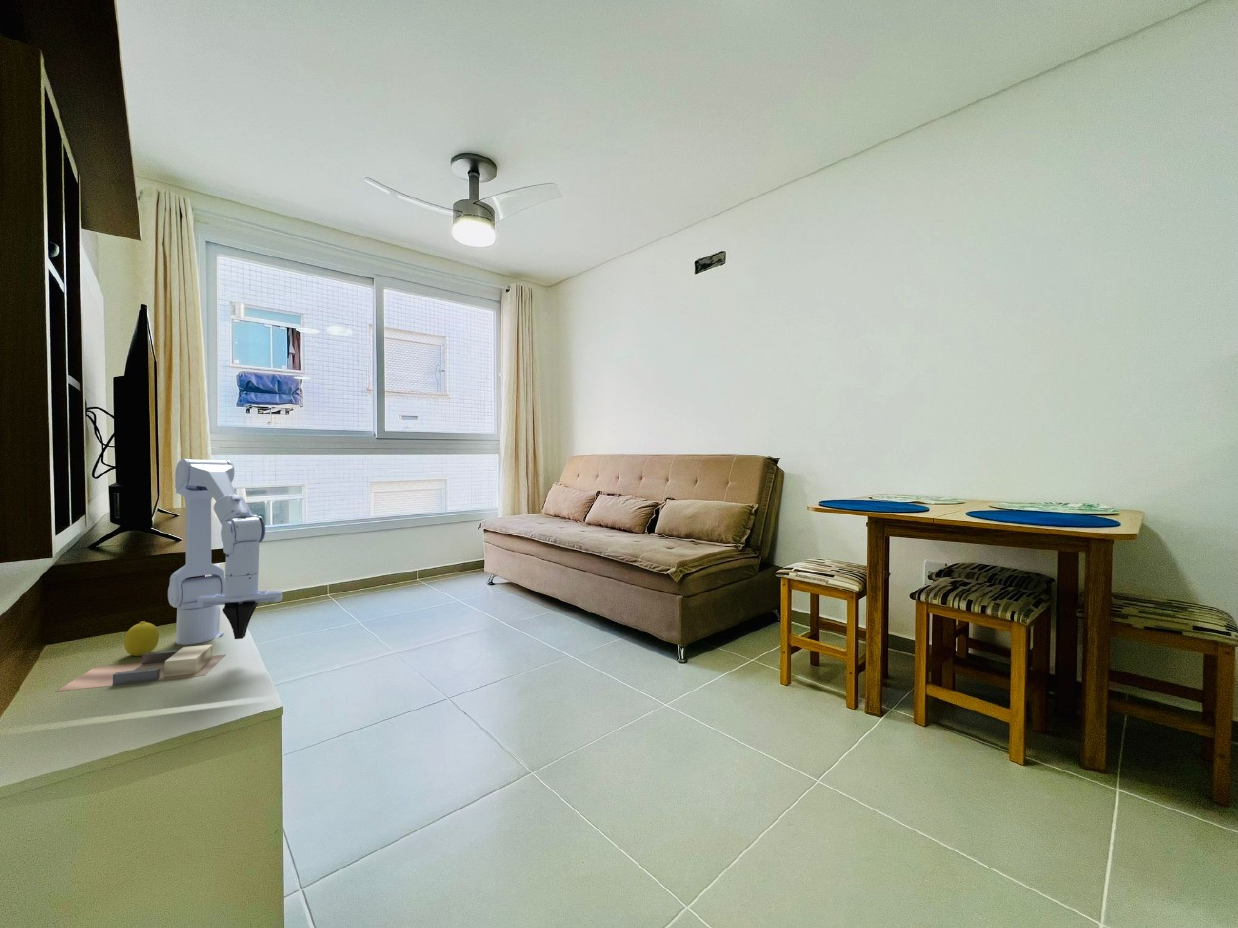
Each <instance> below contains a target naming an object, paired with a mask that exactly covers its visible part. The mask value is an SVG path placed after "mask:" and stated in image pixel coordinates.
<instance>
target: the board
mask: <svg viewBox="0 0 1238 928" xmlns="http://www.w3.org/2000/svg"><path fill="white" fill-rule="evenodd" d="M225 657H226V654H218V655H212V659H211V660H210V661H209V662H208V663H207V664H205V665H204V666H203V667H202V668H201V669H200V670H199V671H198V672H197V673H195V674H186V675H177V676H167V677H164V667H165V662H162V663H152V664H142V662H136V663H135V662H134V663H125V664H114V665H105V666H96V667H95V666H94V667H93V668H91V669H89V670H88V671H86V672H85V673H83V674H82V675H80V676H78V677H77V678H75V679H74V680H72V681H69V683H67V684H65V685H64V686H62V687H60V688H59V689H57V690H55V693H57V692H67V691H76V690H77V691H79V690H86V689H87V690H88V689H96V688H104V687H113V686H115V687H116V685H113V674H115V673H116V672H125V671H135V670H145V669H155V668H160V678H159V679H158V680H157V681H156V682H159V681H168V680H169V681H170V680H176V679H177V680H178V679H185V678H186V679H187V678H188V679H189V678H196V677H197V678H198V677H205V676H207V674H208V673H209V672H210V671H211V670H213V668H215V666H216V665H217V664H218V663H220V662H221V660H223V658H225ZM149 682H150V683H151V682H153V681H149ZM149 682H148V683H149ZM141 683H143V682H140V683H139V684H141ZM132 684H134V683H131V685H132ZM121 685H124V686H125V684H121ZM121 685H120V686H121Z"/></svg>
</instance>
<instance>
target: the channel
mask: <svg viewBox="0 0 1238 928" xmlns="http://www.w3.org/2000/svg"><path fill="white" fill-rule="evenodd" d="M179 650H180V649H174V650H161V651H151V652H149V653H144V654H143V655H142V656H141V657H142V658H141V663H142V664H152V663H162V662H165V661H166V660H167V659H169V658H170V657H171V656H173V655H174V654H175V653H177V652H178V651H179ZM159 678H160V668H155V669H145V670H135V671H125V672H116V673H115V674H113V685H115V686H121V684H124V685H130V684H131V683H133V684H141V683H140V682H142V683H149V681H152V682H158V681H157V680H158V679H159ZM131 685H132V684H131Z"/></svg>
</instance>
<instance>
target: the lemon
mask: <svg viewBox="0 0 1238 928" xmlns="http://www.w3.org/2000/svg"><path fill="white" fill-rule="evenodd" d="M159 635H160V634H159V630H158V627H157V626H156V625H155V624H153V623H151V622H146V621H145V620H144V621H140V622H139V623H136V624H135V625H133V626H132V627H130V628H129V629H128V630H127V632H126V634H125V637H124V640H123V646H124V649H125V651H126V653H128V654H129V655H131V656H134V657H142V655H143V654H144V653H149V652H153V651H154V650H155V649H156V647H157V646H158V644H159V640H160V636H159Z"/></svg>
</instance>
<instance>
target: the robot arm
mask: <svg viewBox="0 0 1238 928" xmlns="http://www.w3.org/2000/svg"><path fill="white" fill-rule="evenodd" d="M174 472H175V473H174V475H175V476H174V484H175V486H174V487H175V493H176V494H177V495H180V496H183V497H184V504H185V564H184V565H183V566H182V567H180V568H179V569H177V570H176V571H174V572H173V573H171V575H170V577H169V584H168V585H169V586H168V587H167V588H168V589H167V600H168V603H169V605H170V606H171V607H173V608H176V628H175V629H176V633H175V634H176V635H175V644H176V645H182V646H183V645H196V644H200V643H201V644H202V643H204V642H205V643H206V642H208V641H211V640H214V639H216V638H217V639H218V638H221V636H223V635H224V634H225V632H224V631H220V626H221V623H220V620H221V608H220V606H223V605H224V606H223V608H222V612H223V614H224V616H225V617H226V618H227V620H228V623H229V625H230V626H231V629H232V632H233V637H234V640H240V639H244V638H245V637H246V635H247V630H248V626H249V623H250V620H251V618H252V616H253V615H254V613H255V611H256V608H257V607H258V605H259V603H266V602H267V603H268V602H275V603H276V602H277V603H278V602H279V603H280V602H281V601H283V590H259V570H260V569H259V567H260V543H262V542H263V541H264V539H265V536H266V523H265V520H264V518H263V517H262V516H261V515H257V514H254V513H252V511H251V509H250V507H249V505H248V503H247V502H246V500H245V499H244V497H243V496H240V495H238V494H236V493H235V490H234V488H233V487H234V486H233V484H232V483H233V480H234V479H235V466H234V463H232V461H231V460H229V459H223V460H222V459H221V460H220V459H219V460H217V459H193V458H192V459H187V458H181V459H180V460H179V461H178V462H177V463H176V467H175V471H174ZM212 499H214V501H215V503H214V504H213V511H214V513H215V515H216V517H217V519H218V520H219V522H220V524H221V530H220V532H221V533H220V535H221V536H220V537H221V541H222V550H223V554H225V569H223V568H222V567H220V566H218V565H216V564H214V563H212Z"/></svg>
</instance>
